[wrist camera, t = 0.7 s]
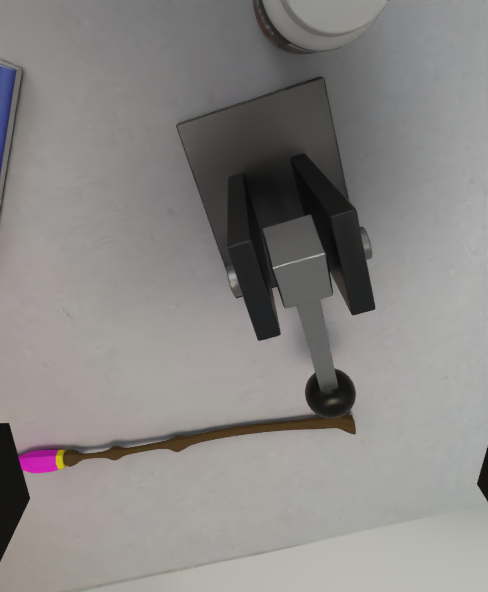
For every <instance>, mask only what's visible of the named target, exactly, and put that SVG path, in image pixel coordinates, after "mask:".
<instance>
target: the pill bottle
mask: <svg viewBox="0 0 488 592" xmlns="http://www.w3.org/2000/svg"><path fill="white" fill-rule="evenodd" d="M388 2H389V0H253V7H254V12H255V16H256V19H257V22H258V24H259V26H260V28H261V30H262V31H263V33H264V34H265V35H266V37H267V38H268V39H269V40H270V41H271V42H272V43H273V44H274V45H276V46H277V47H279V48H280V49H282V50H284V51H287V52H290V53H295V54H310V53H316V52H322V51H329V50H334V49H337V48H340V47H342V46H345V45H347V44H349V43H350V42H352V41H354V40H356V39H357V38H358V37H360V36H361V35H362V34H363V33H364V32H365V31H366V30H367V29H368V28H369V27H370V26H371V25H372V24H373V22H374V21H375V20H376V19H377V17H378V16H379V14H380V12H381V11H382V10H383V9H384V8H385V6H386V5H387V4H388Z"/></svg>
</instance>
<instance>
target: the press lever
mask: <svg viewBox="0 0 488 592" xmlns="http://www.w3.org/2000/svg"><path fill="white" fill-rule="evenodd" d="M262 233H263V237H264V241H265V245H266V249H267V253H268V256H269V260H270V264H271V268H272V271H273V275H274V278H275V281H276V284H277V287H278V290H279V293H280V296H281V300H282V303H283V306H284V308H286V309H287V308H290V307H294V306H297V309H298V312H299V316H300V319H301V323H302V327H303V330H304V334H305V337H306V341H307V344H308V348H309V351H310V355H311V359H312V362H313V366H314V369H315V373H314V374H313V375H312V376H311V377H310V378H309V380H308V382H307V384H306V388H305V396H306V401H307V403H308V405H309V407H310V408H311V409H312V411H313V412H315V413H316V414H317V415H319V416H321V417H323V418H328V419H335V418H339V417H342V416H344V415H345V414H347V413H348V412H349V411H350V409H351V408H352V406H353V405H354V402H355V398H356V391H355V387H354V384H353V382H352V380H351V379H350V377H349V376H348V375H347V374H345V373H344V372H342V371H340V370H338V369H335V368H334V364H333V359H332V355H331V350H330V345H329V340H328V336H327V331H326V326H325V321H324V316H323V312H322V307H321V302H320V299H323V298H326V297H330V296H332V295H333V289H332V283H331V277H330V271H329V265H328V260H327V254H326V251H325V248H324V245H323V243H322V240H321V237H320V235H319V232H318V229H317V226H316V224H315V221H314V218H313V216H312V215H311V214H310V215H306V216H303V217H300V218H296V219H293V220H290V221H286V222H283V223H279V224H276V225H273V226H269V227H266V228H263V229H262Z"/></svg>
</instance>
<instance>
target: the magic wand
mask: <svg viewBox="0 0 488 592" xmlns="http://www.w3.org/2000/svg"><path fill="white" fill-rule="evenodd" d="M326 428H339V429H341V430H344V431H346V432H348V433H351V434H355V433H356V430H355V423H354V419H353V417H352V415H350V414H345V415H344V416H342V417H339V418H335V419H328V418H323V417H316V418H309V419H301V420H292V421H282V422H272V423H263V424H254V425H245V426H238V427H231V428H225V429H219V430H214V431H209V432H205V433H200V434H195V435H190V436H176V437H173V438H171V439H169V440H166V441H162V442H157V443H152V444H147V445H142V446H136V447H129V448H122V447H119V446H114V447H111V448H110V449H108V450H106V451H103V452H97V453H86V454H83V453H79V452H77V451H76V450H69V451H66V450H62V449H61V450H55V449H53V450H39V451H33V452H29V453H26V454H24V455H21V456H19V461H20V464H21V468H22V470H24V471H28V472H31V473H44V472H52V471H55V470H59V469H63V468H65V467H66V466H69V467H70V466H73V465H75V464H77V463H78V462H79V461H81V460H84V459H90V458H108V459H111V460H117V459H120V458H121V457H123V456H125V455H129V454H133V453H138V452H143V451H149V450H155V449H170V450H172V451H175V452H179V451H181V450H183V449H185V448H187V447H188V446H190V445H193V444H197V443H200V442H204V441H209V440H214V439H219V438H225V437H231V436H238V435H245V434H252V433H261V432H270V431H282V430H301V429H326Z"/></svg>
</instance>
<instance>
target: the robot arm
mask: <svg viewBox="0 0 488 592" xmlns="http://www.w3.org/2000/svg"><path fill="white" fill-rule="evenodd" d="M477 485H478V487H479V488H480V490H481V491H482V493H483V495H484V496H485V498H486V499H487V501H488V447H487V451H486V454H485V458H484V461H483V465H482V468H481V472H480V475H479V479H478V482H477ZM29 500H30V496H29V493H28V489H27V486H26V482H25V478H24V475H23V471H22V468H21V464H20V461H19V457H18V454H17V450H16V446H15V443H14V439H13V436H12V432H11V429H10V425H9V423H0V561H1V559H2V557H3V555H4V553H5V551H6V548H7V546H8V544H9V542H10V540H11V538H12V536H13V534H14V531H15V529H16V527H17V525H18V523H19V521H20V519H21V517H22V514H23V512H24V510H25V508H26V506H27V504H28V502H29Z"/></svg>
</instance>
